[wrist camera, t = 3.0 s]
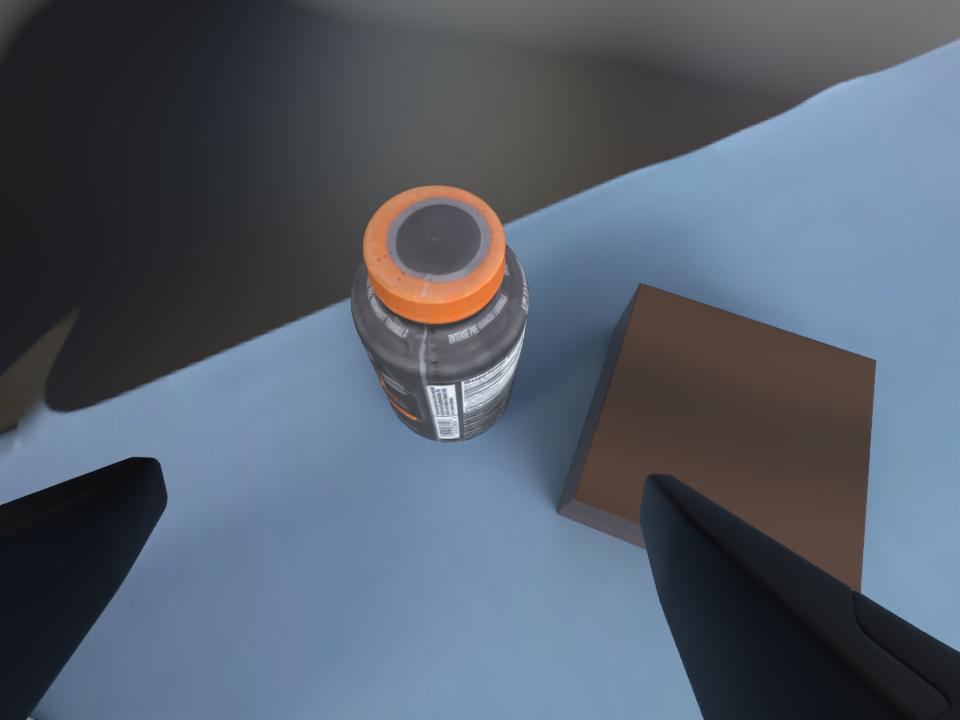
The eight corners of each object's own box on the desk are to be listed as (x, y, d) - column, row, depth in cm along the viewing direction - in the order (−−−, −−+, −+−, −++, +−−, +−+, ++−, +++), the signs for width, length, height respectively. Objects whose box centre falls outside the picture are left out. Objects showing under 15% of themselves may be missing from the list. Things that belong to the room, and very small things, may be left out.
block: (789, 608, 20) (860, 613, 16) (556, 513, 21) (573, 498, 18) (815, 393, 24) (876, 360, 20) (615, 325, 25) (640, 282, 22)
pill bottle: (376, 347, 25) (308, 178, 14) (489, 317, 25) (502, 136, 15) (405, 461, 22) (348, 357, 12) (528, 424, 23) (575, 297, 13)
